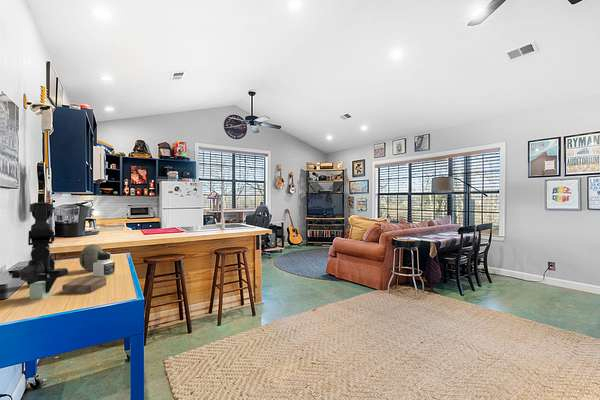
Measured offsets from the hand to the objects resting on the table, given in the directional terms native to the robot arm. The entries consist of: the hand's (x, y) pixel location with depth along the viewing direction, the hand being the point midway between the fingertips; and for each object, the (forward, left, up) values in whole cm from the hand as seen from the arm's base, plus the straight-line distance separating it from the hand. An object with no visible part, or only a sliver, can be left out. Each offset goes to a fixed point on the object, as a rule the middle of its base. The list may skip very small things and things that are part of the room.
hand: (40, 293), depth 125 cm
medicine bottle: (+7, +34, -2) cm, 35 cm away
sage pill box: (0, 0, -2) cm, 2 cm away
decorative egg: (-5, +44, -2) cm, 44 cm away
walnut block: (+12, +10, -2) cm, 16 cm away
